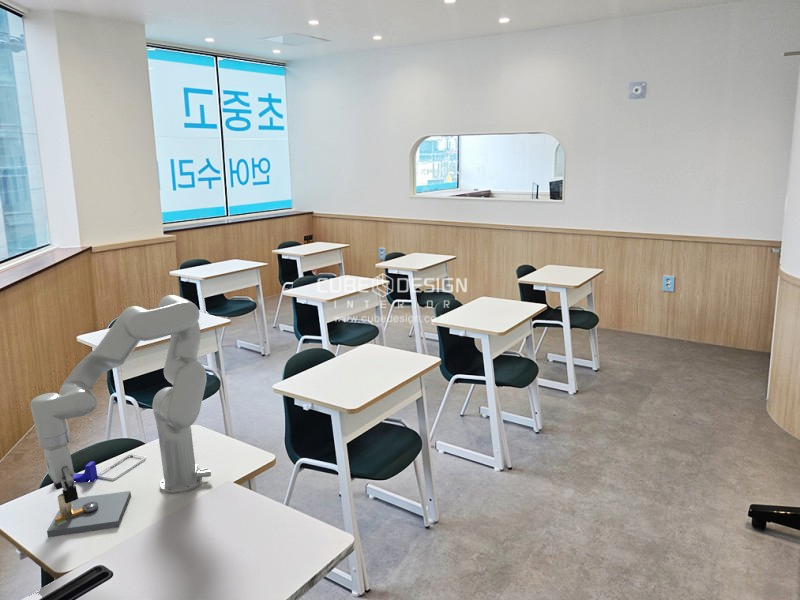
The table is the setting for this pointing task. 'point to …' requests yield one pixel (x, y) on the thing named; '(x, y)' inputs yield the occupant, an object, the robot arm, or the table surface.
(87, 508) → the dial lever
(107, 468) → the grey rectangular frame
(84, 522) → the dial panel
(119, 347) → the robot arm
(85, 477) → the blue cradle holder
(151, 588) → the table surface
